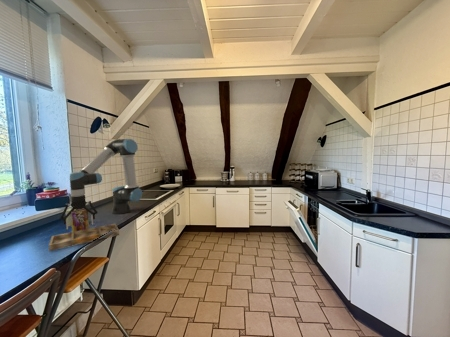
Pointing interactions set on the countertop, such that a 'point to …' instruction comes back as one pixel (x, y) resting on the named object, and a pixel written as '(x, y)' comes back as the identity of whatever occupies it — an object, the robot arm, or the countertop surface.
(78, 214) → the candy box
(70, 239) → the rack
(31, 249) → the countertop surface
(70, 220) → the can
